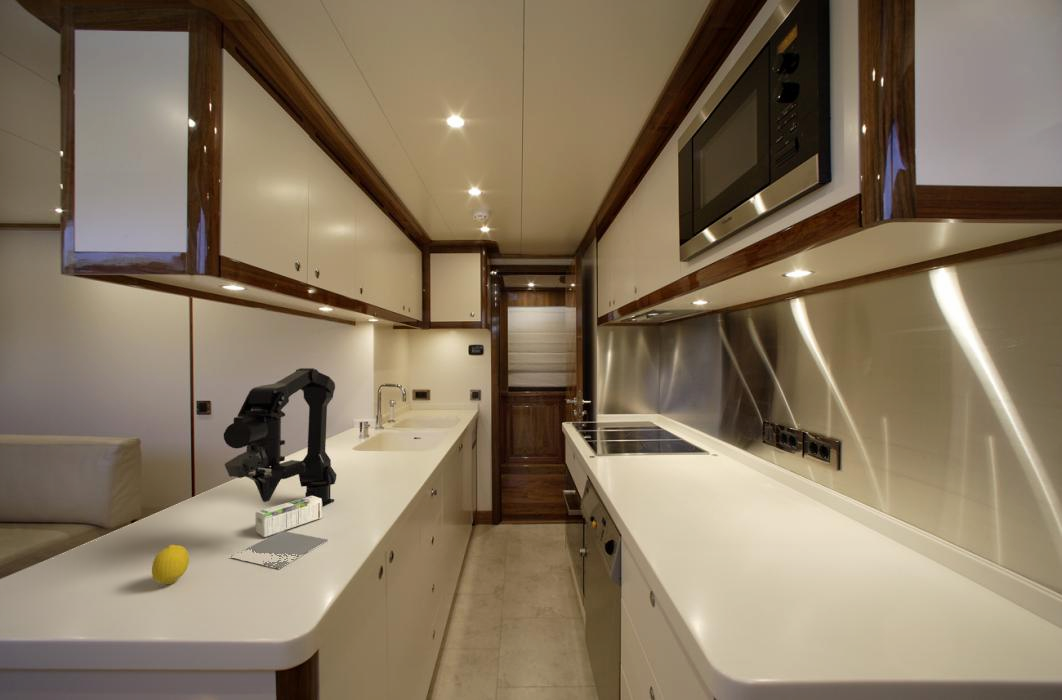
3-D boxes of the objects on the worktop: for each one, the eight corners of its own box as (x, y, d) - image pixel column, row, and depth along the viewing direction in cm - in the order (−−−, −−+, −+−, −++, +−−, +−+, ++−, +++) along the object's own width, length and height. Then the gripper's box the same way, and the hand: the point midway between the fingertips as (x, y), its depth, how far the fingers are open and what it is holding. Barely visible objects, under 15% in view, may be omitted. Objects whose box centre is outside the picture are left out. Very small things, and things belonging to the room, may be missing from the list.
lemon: (146, 595, 73) (146, 554, 73) (158, 580, 78) (158, 541, 78) (183, 587, 75) (184, 548, 76) (192, 573, 80) (193, 536, 80)
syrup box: (255, 511, 98) (313, 493, 110) (255, 533, 98) (313, 514, 110) (263, 515, 95) (322, 497, 107) (264, 538, 95) (323, 517, 107)
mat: (282, 532, 99) (282, 530, 99) (327, 541, 94) (327, 539, 94) (230, 558, 86) (230, 556, 86) (279, 569, 82) (279, 567, 82)
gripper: (203, 442, 87) (202, 509, 87) (263, 449, 82) (262, 520, 81) (251, 432, 98) (251, 492, 98) (307, 438, 92) (306, 501, 92)
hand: (266, 501), depth 92 cm, fingers closed
